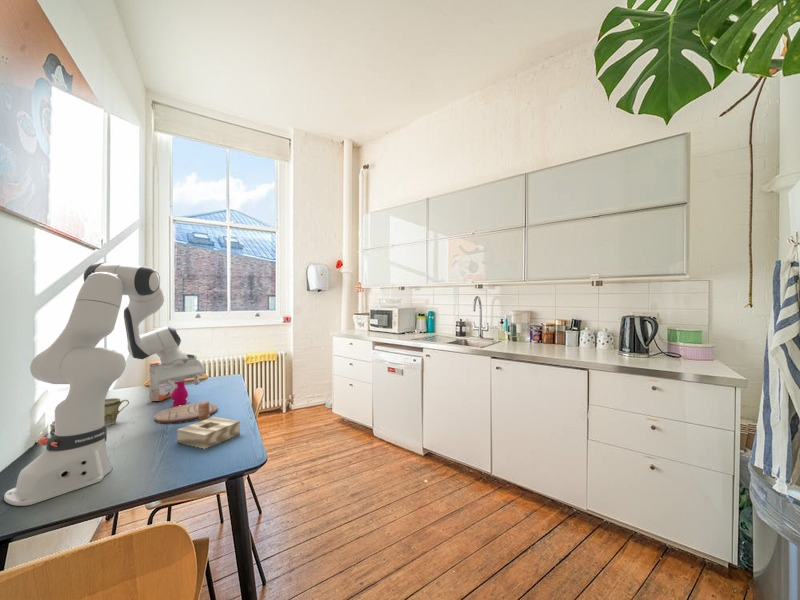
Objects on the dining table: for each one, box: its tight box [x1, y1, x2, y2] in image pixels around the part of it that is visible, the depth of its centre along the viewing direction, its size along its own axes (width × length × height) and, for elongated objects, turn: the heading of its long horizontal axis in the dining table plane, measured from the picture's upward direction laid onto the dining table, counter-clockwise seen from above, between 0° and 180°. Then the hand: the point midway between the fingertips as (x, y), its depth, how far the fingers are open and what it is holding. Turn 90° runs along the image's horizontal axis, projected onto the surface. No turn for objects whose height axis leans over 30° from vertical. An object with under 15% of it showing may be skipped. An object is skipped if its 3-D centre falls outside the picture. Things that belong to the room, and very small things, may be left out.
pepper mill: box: [170, 379, 189, 407], centre depth 178 cm, size 7×7×20 cm
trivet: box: [154, 402, 218, 424], centre depth 162 cm, size 25×25×2 cm
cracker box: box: [148, 360, 175, 402], centre depth 190 cm, size 14×6×21 cm, turn 179°
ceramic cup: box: [104, 397, 130, 427], centre depth 152 cm, size 13×10×10 cm
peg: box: [197, 400, 211, 422], centre depth 146 cm, size 4×4×10 cm
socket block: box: [176, 416, 241, 450], centre depth 133 cm, size 15×15×5 cm
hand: (187, 386), depth 152 cm, fingers open, 8 cm apart
